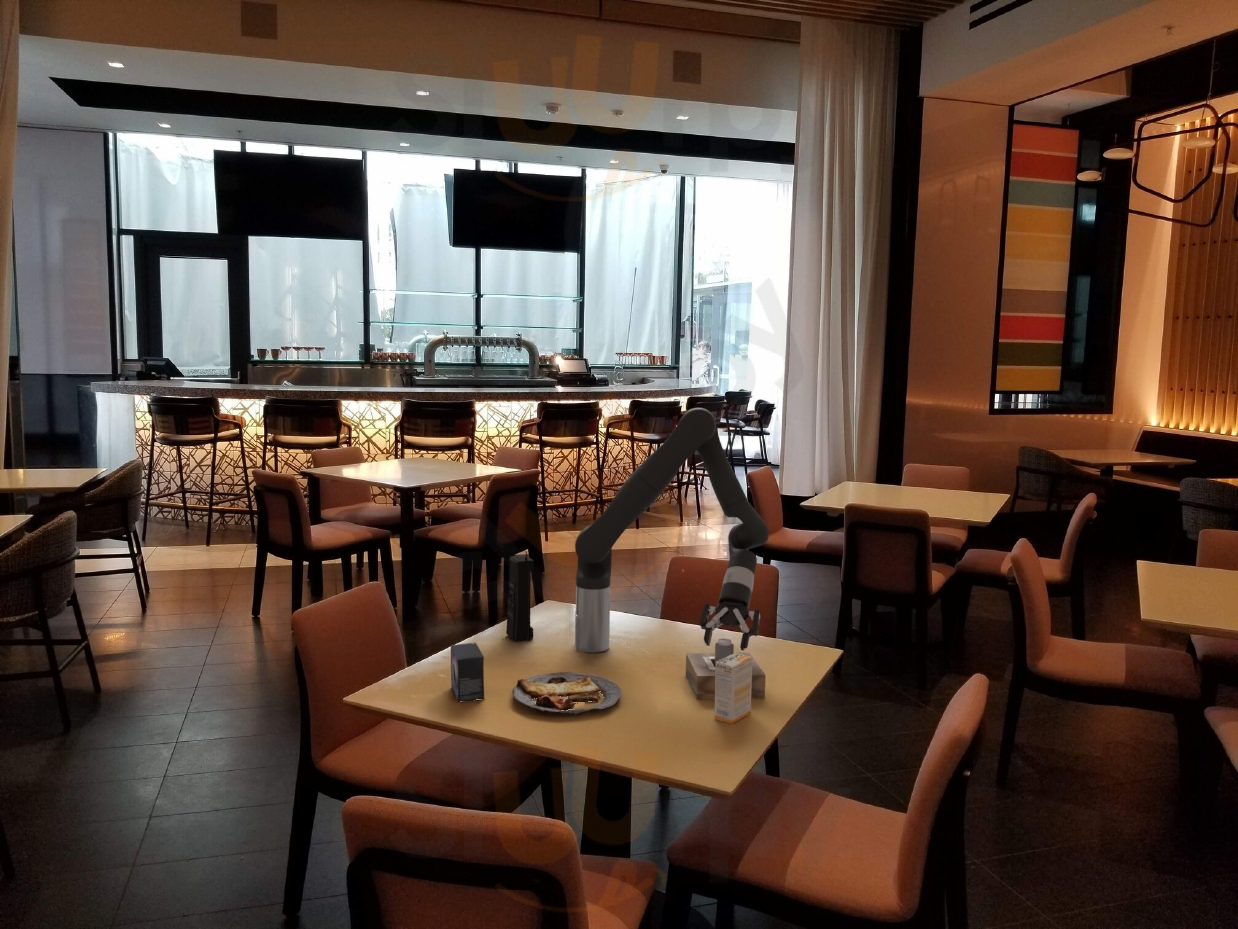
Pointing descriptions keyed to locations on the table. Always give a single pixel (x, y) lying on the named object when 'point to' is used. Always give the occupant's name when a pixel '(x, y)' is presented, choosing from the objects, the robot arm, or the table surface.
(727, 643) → the grey bottle
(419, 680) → the table surface
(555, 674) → the food plate
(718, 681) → the supplement box
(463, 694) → the small box
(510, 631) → the portable radio
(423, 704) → the table surface
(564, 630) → the table surface
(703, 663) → the socket block
